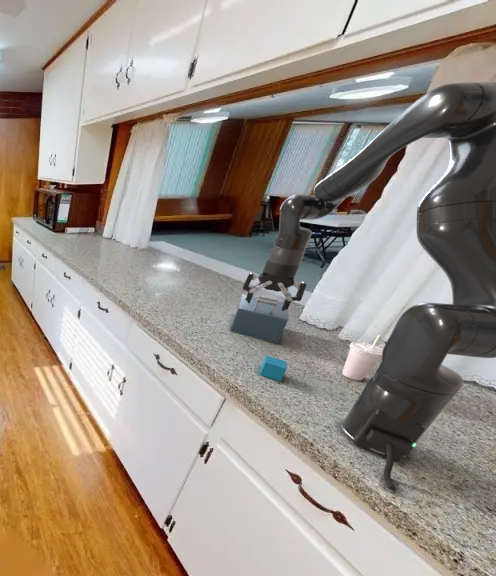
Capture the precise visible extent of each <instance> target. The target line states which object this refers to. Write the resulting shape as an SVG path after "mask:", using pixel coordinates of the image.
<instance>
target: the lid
mask: <svg viewBox="0 0 496 576" xmlns="http://www.w3.org/2000/svg"><path fill="white" fill-rule="evenodd" d="M246 297H247V294H245V293H242V295H241V297H240V300H241V301H240V300H239V303H240V305H239V304H238V306H239V308H238V307H237V308H238V310H240V311H244V312H248V313H253V314H257V315H261V316H265V317H270V318H274V319H278V320H282V321H286V322H287V323H288V322H289V319H290V318H289V308H288V309H287V310H284V311H281V307H282V305H283V303H284V301H279V300H278V299H274V298H269V297H266V296H265V297H264V296H261V295H258V296H254V295H253V297H252V299H251V302H250V303H247V302H248V301H246Z"/></svg>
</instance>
